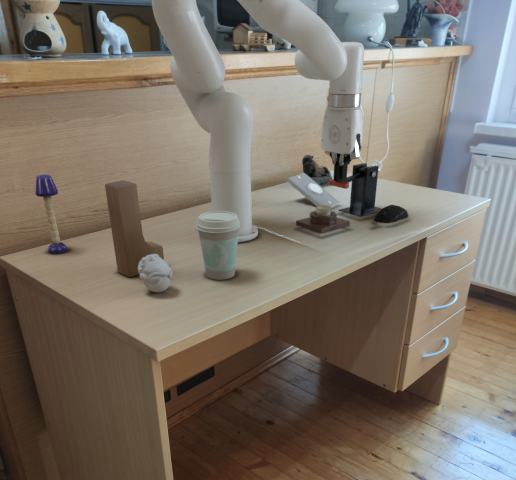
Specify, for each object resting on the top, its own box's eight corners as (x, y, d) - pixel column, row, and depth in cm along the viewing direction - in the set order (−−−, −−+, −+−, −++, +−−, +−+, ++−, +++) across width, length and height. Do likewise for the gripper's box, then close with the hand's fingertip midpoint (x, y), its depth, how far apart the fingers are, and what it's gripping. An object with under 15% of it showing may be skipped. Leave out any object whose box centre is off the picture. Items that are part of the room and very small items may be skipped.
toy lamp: (44, 249, 122) (28, 175, 114) (64, 245, 125) (49, 172, 117) (52, 255, 119) (36, 179, 111) (72, 250, 122) (58, 175, 113)
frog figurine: (158, 281, 105) (154, 247, 102) (181, 290, 101) (178, 255, 98) (133, 291, 101) (128, 256, 98) (156, 301, 97) (152, 265, 94)
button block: (320, 237, 128) (321, 221, 126) (295, 229, 134) (296, 213, 132) (349, 229, 133) (350, 213, 131) (323, 221, 139) (324, 206, 138)
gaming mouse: (361, 226, 136) (362, 210, 134) (391, 214, 145) (393, 199, 143) (383, 231, 132) (384, 215, 130) (412, 218, 141) (414, 203, 139)
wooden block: (153, 261, 115) (143, 175, 106) (165, 266, 113) (156, 179, 104) (117, 272, 110) (103, 183, 101) (129, 278, 107) (116, 187, 98)
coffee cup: (191, 274, 108) (186, 216, 102) (222, 263, 113) (220, 207, 108) (218, 286, 103) (215, 225, 97) (250, 274, 108) (249, 216, 102)
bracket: (360, 220, 140) (364, 170, 134) (338, 214, 146) (341, 165, 139) (384, 213, 146) (390, 165, 139) (362, 207, 151) (366, 160, 145)
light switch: (326, 206, 146) (288, 174, 149) (317, 223, 150) (280, 192, 153) (342, 200, 152) (305, 169, 155) (332, 216, 156) (296, 186, 159)
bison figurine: (321, 180, 181) (323, 149, 176) (336, 184, 176) (338, 152, 171) (295, 186, 174) (296, 154, 169) (311, 190, 169) (312, 157, 164)
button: (323, 218, 130) (323, 209, 129) (312, 215, 132) (313, 206, 131) (333, 215, 132) (334, 207, 131) (323, 212, 134) (323, 204, 133)
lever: (345, 191, 134) (345, 181, 132) (328, 187, 138) (328, 177, 137) (377, 177, 139) (377, 168, 138) (360, 173, 143) (360, 164, 142)
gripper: (311, 101, 129) (309, 178, 138) (357, 105, 119) (351, 188, 128) (332, 98, 133) (329, 173, 142) (379, 102, 123) (372, 183, 132)
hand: (340, 180), depth 135 cm, fingers closed
